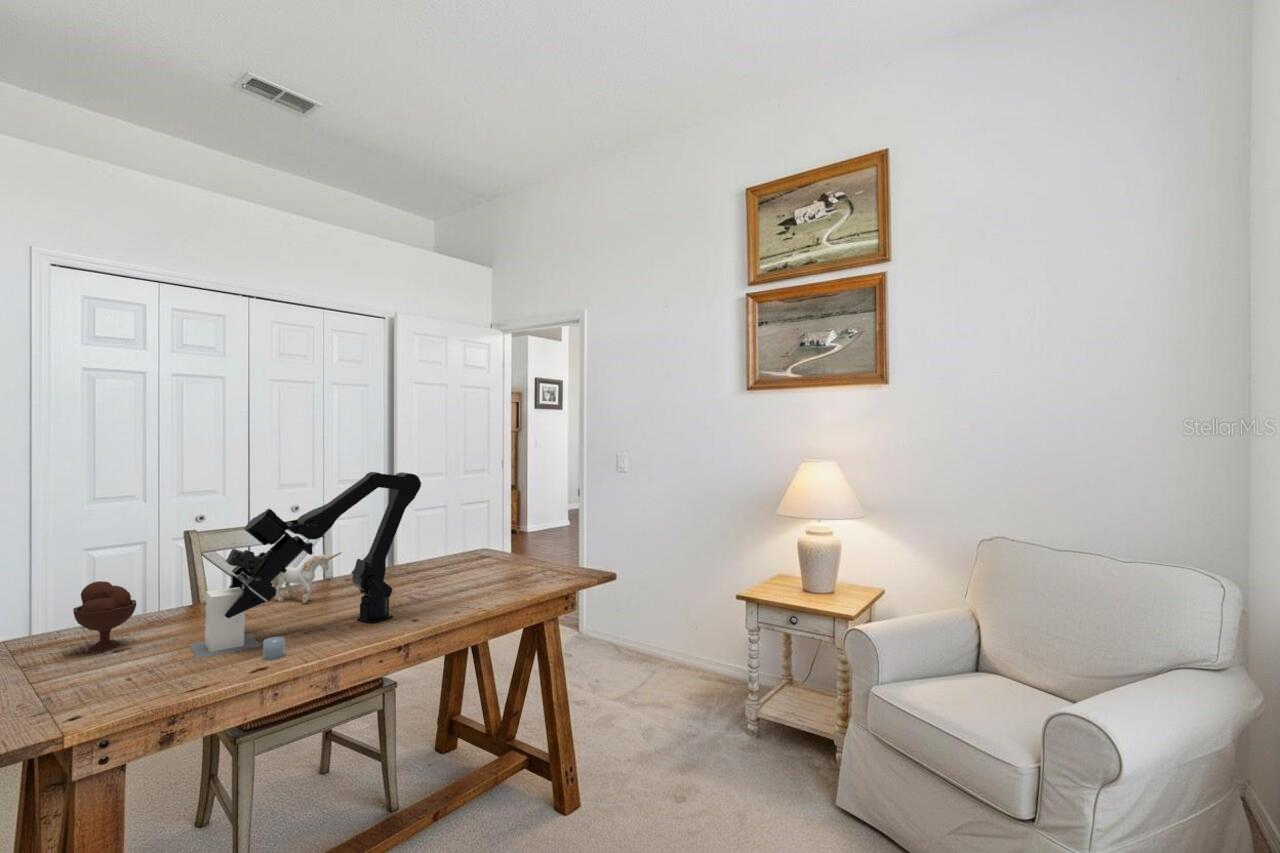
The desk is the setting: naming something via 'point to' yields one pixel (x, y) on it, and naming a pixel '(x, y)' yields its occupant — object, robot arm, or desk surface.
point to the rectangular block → (223, 620)
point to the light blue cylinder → (273, 648)
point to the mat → (202, 651)
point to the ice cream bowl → (104, 611)
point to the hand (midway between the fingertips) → (222, 612)
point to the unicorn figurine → (301, 576)
